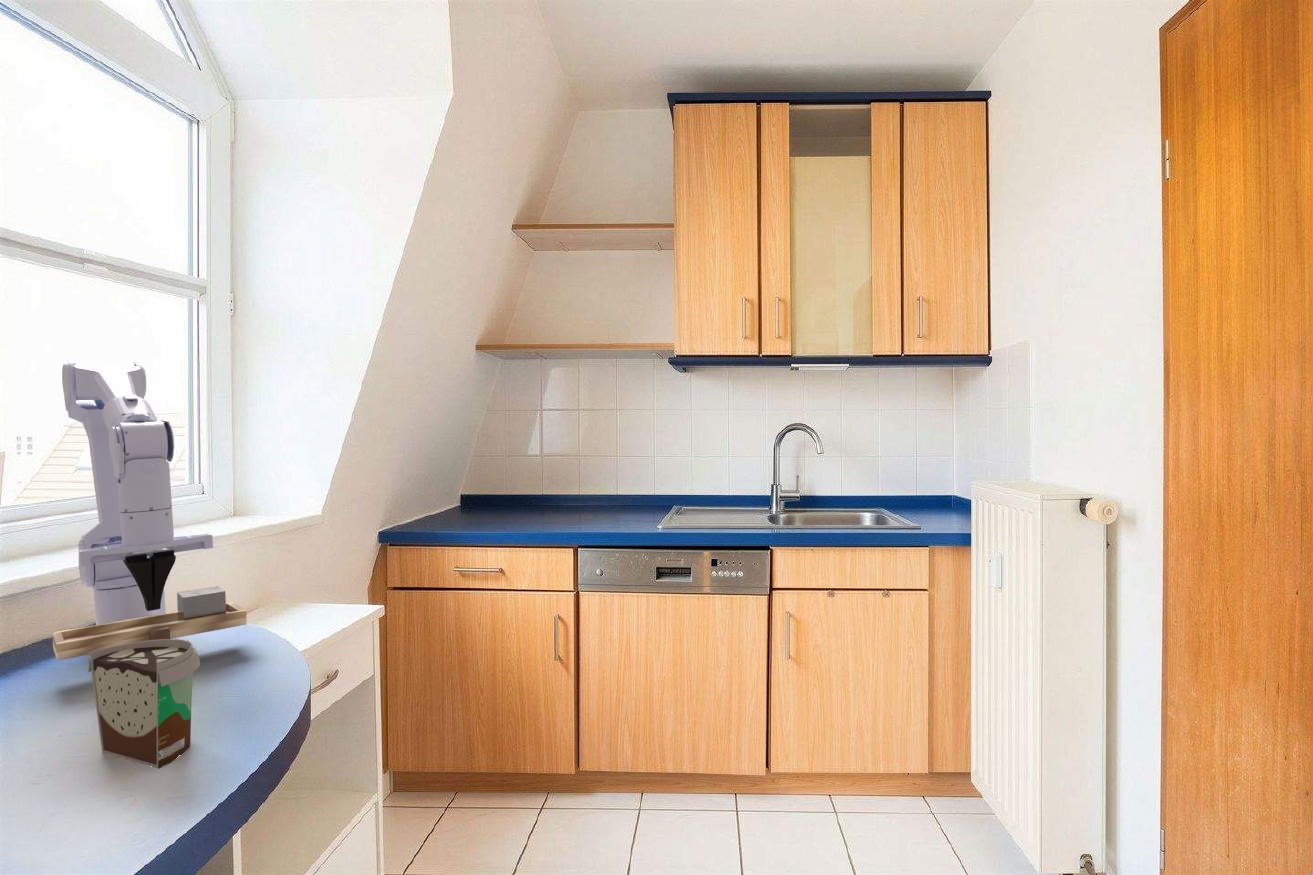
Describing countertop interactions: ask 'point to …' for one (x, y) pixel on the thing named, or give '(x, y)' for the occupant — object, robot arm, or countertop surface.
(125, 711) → the food container
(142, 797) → the countertop surface
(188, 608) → the block
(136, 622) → the beam
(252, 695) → the countertop surface
